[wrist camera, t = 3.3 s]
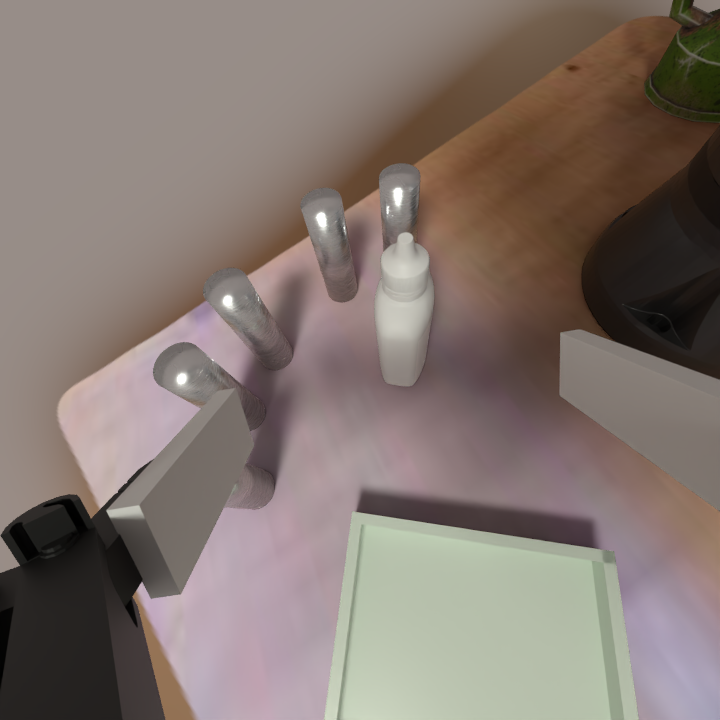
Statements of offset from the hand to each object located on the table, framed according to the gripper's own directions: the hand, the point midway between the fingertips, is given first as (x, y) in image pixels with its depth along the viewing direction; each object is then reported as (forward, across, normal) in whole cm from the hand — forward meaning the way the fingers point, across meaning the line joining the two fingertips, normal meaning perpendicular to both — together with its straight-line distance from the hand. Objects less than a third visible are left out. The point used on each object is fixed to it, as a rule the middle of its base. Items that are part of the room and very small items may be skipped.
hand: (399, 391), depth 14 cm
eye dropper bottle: (+12, +2, -3) cm, 13 cm away
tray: (0, +2, -15) cm, 15 cm away
